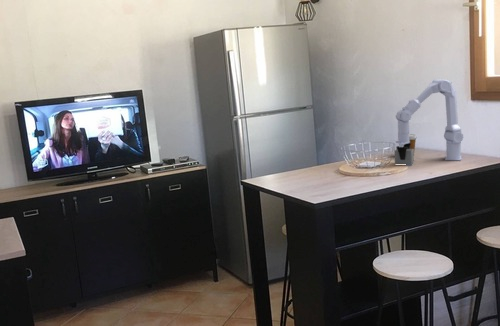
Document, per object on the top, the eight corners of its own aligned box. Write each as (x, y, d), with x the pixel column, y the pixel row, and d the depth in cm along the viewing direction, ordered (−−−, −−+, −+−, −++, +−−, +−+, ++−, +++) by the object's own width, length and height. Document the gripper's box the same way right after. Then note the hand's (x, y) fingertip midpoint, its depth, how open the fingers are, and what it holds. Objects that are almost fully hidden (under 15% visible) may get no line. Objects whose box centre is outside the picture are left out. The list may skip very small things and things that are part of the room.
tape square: (398, 162, 290) (397, 161, 290) (413, 162, 286) (413, 162, 286) (394, 165, 283) (394, 165, 283) (410, 165, 279) (410, 165, 279)
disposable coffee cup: (395, 156, 307) (395, 135, 304) (408, 153, 311) (408, 133, 308) (407, 158, 298) (406, 137, 296) (420, 156, 302) (420, 135, 300)
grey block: (397, 162, 289) (396, 148, 287) (413, 163, 285) (413, 148, 283) (394, 164, 284) (394, 150, 282) (411, 165, 280) (411, 150, 278)
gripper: (398, 130, 289) (399, 155, 292) (392, 135, 277) (393, 160, 279) (412, 130, 286) (412, 155, 289) (406, 135, 273) (407, 161, 276)
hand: (403, 158), depth 284 cm, fingers open, 7 cm apart
